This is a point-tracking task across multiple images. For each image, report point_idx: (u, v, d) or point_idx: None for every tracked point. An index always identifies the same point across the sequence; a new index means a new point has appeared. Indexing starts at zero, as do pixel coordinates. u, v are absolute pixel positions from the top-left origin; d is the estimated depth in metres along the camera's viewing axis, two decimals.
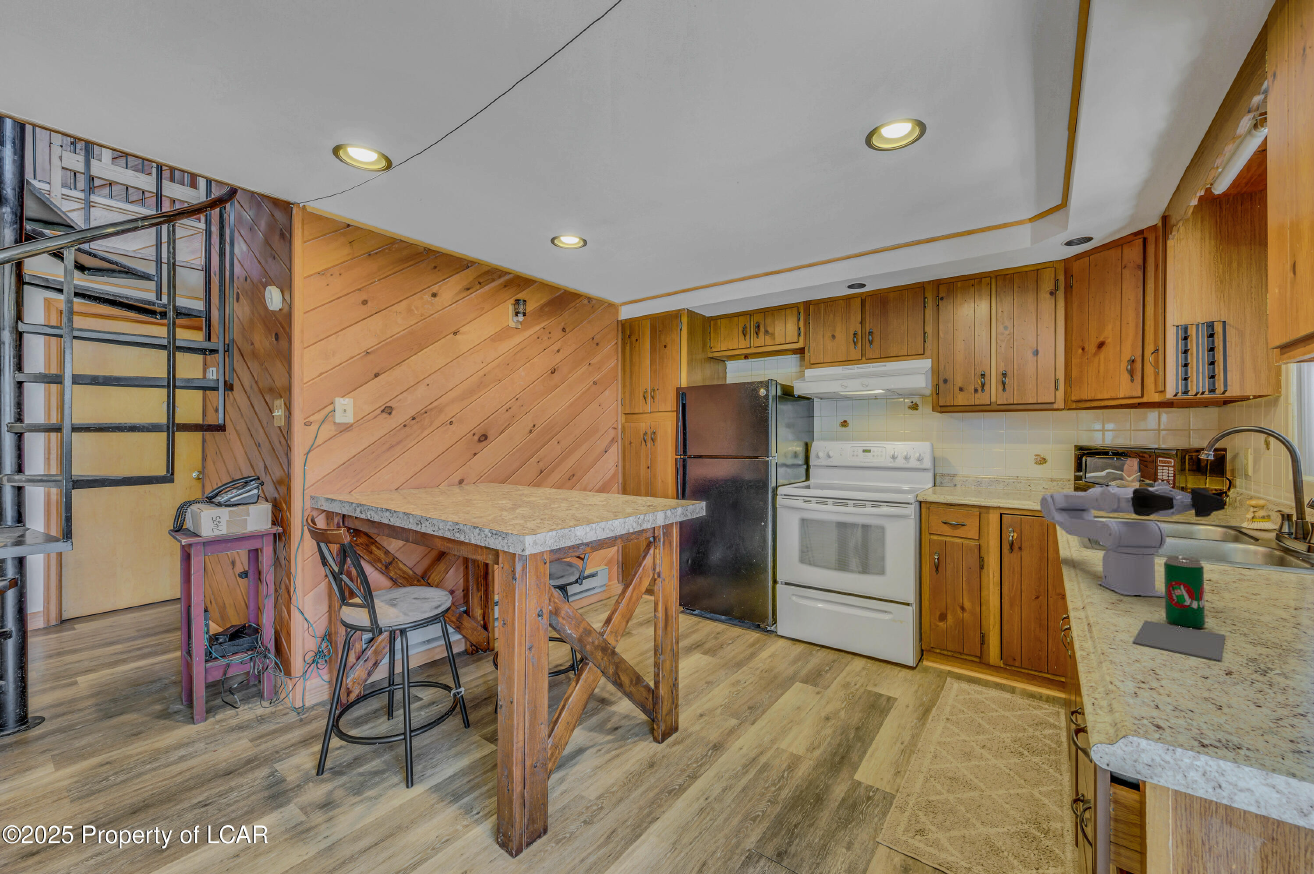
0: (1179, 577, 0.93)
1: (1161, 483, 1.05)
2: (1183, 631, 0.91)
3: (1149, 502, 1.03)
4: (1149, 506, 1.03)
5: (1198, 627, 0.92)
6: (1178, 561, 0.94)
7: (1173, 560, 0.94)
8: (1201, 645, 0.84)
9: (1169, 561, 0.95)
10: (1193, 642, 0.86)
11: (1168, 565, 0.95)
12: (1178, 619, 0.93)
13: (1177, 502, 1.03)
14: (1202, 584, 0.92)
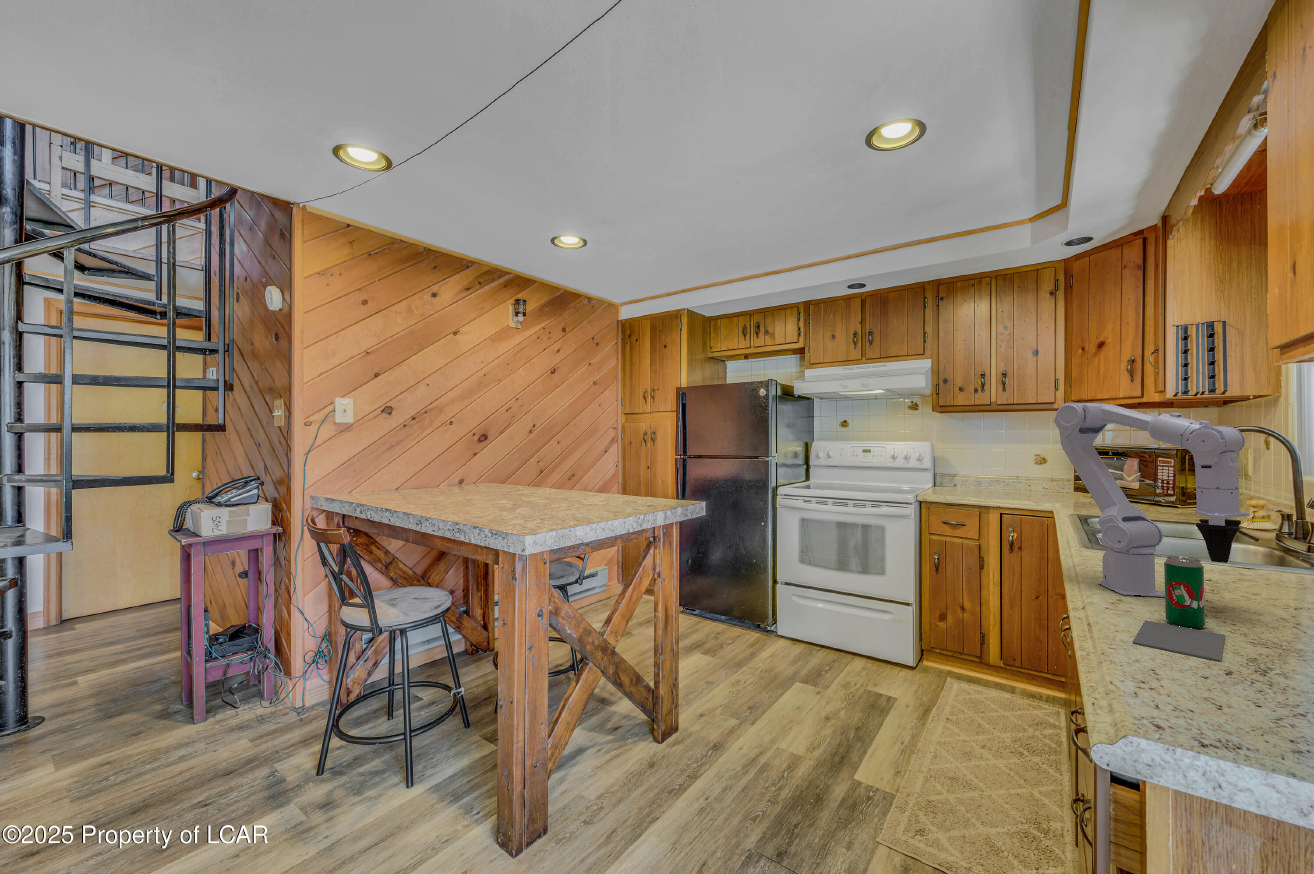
0: (1179, 577, 0.93)
1: None
2: (1183, 631, 0.91)
3: (1217, 534, 0.98)
4: (1211, 533, 0.98)
5: (1198, 627, 0.92)
6: (1178, 561, 0.94)
7: (1173, 560, 0.94)
8: (1201, 645, 0.84)
9: (1169, 561, 0.95)
10: (1193, 642, 0.86)
11: (1168, 565, 0.95)
12: (1178, 619, 0.93)
13: None
14: (1202, 584, 0.92)
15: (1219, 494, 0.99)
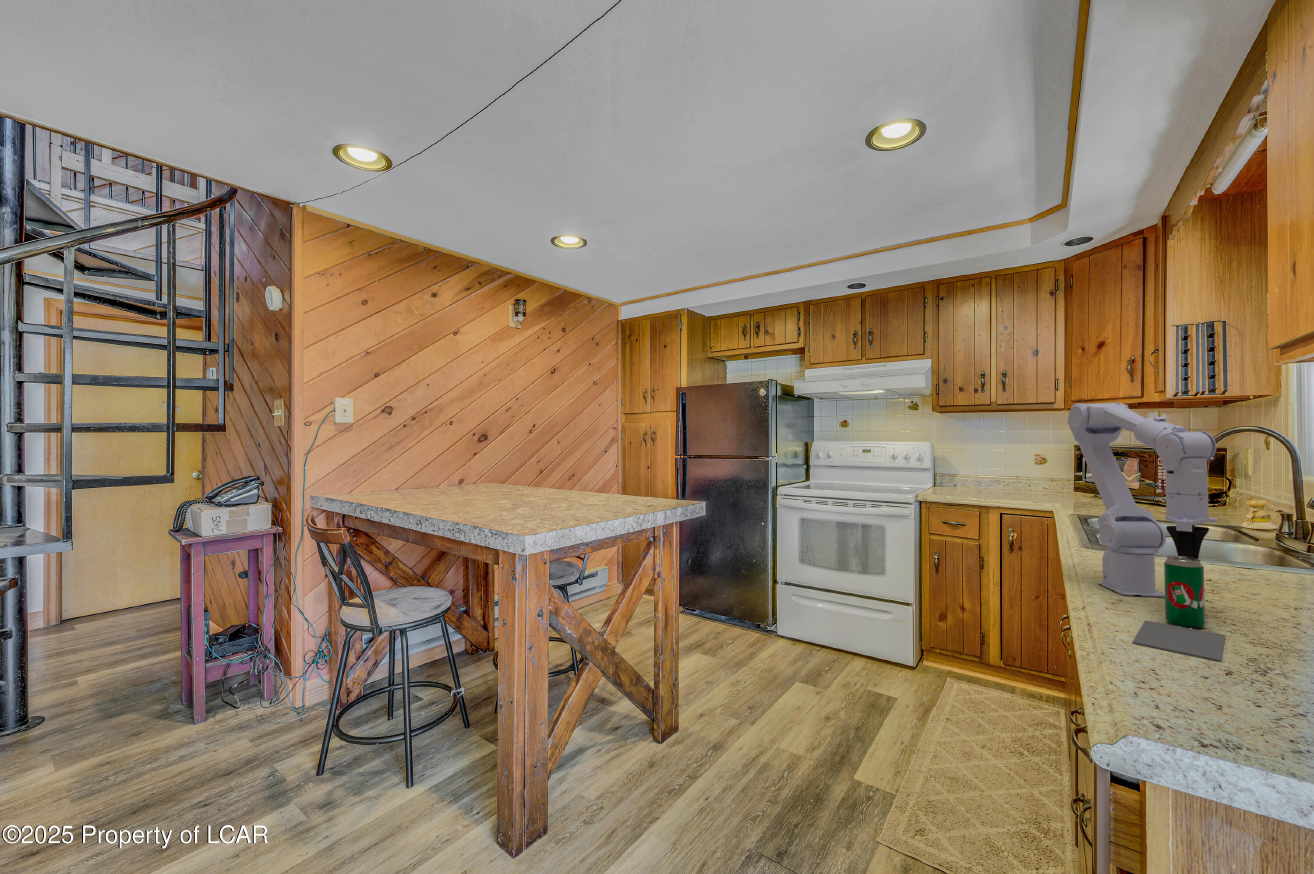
0: (1179, 577, 0.93)
1: None
2: (1183, 631, 0.91)
3: (1187, 537, 1.00)
4: (1181, 536, 1.01)
5: (1198, 627, 0.92)
6: (1178, 561, 0.94)
7: (1173, 560, 0.94)
8: (1201, 645, 0.84)
9: (1169, 561, 0.95)
10: (1193, 642, 0.86)
11: (1168, 565, 0.95)
12: (1178, 619, 0.93)
13: None
14: (1202, 584, 0.92)
15: (1188, 500, 0.99)
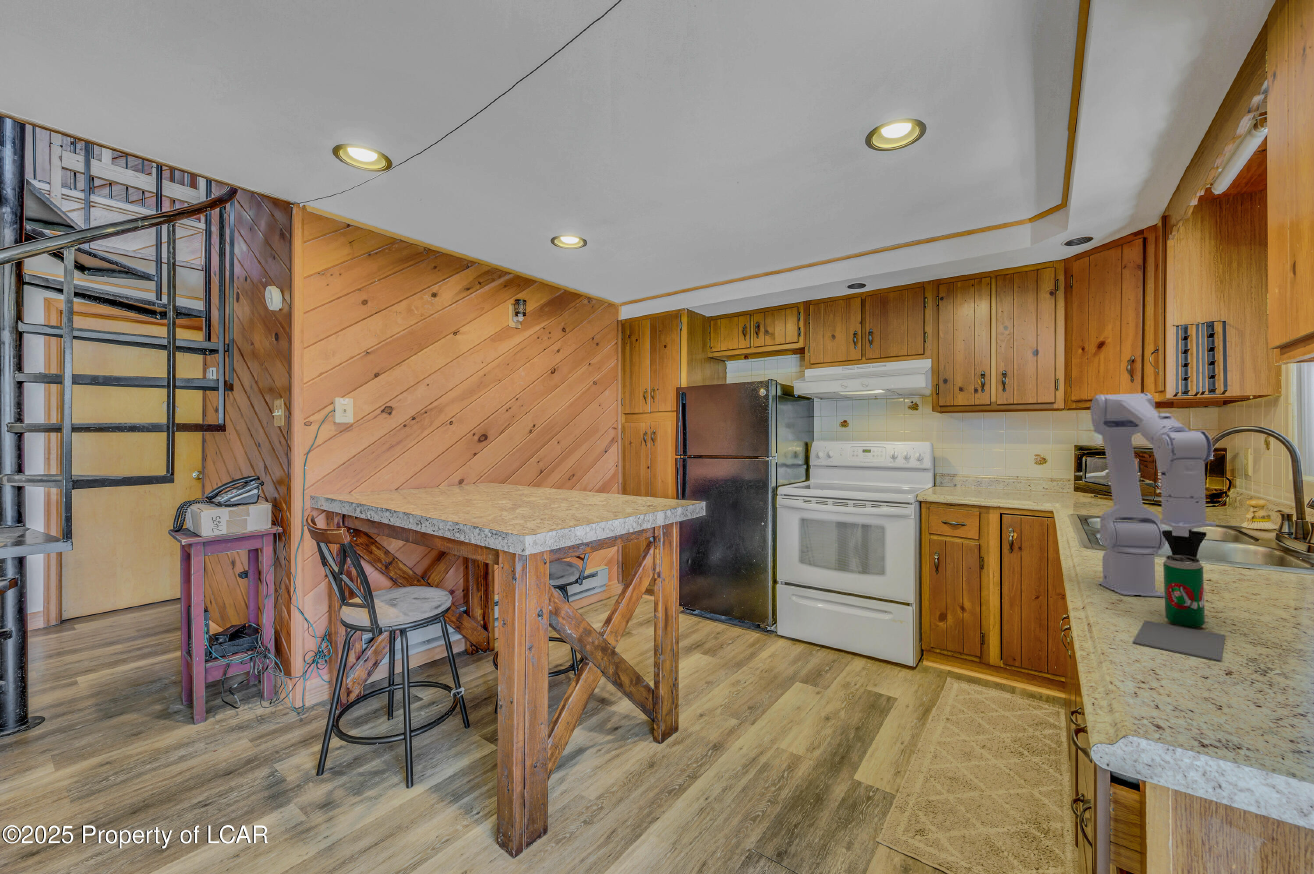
0: (1178, 579, 0.92)
1: None
2: (1183, 631, 0.91)
3: (1183, 542, 0.95)
4: (1177, 541, 0.96)
5: (1198, 626, 0.92)
6: (1177, 563, 0.92)
7: (1172, 562, 0.93)
8: (1201, 645, 0.84)
9: (1168, 562, 0.94)
10: (1193, 642, 0.86)
11: (1167, 567, 0.94)
12: (1178, 619, 0.93)
13: None
14: (1201, 585, 0.91)
15: (1184, 503, 0.94)
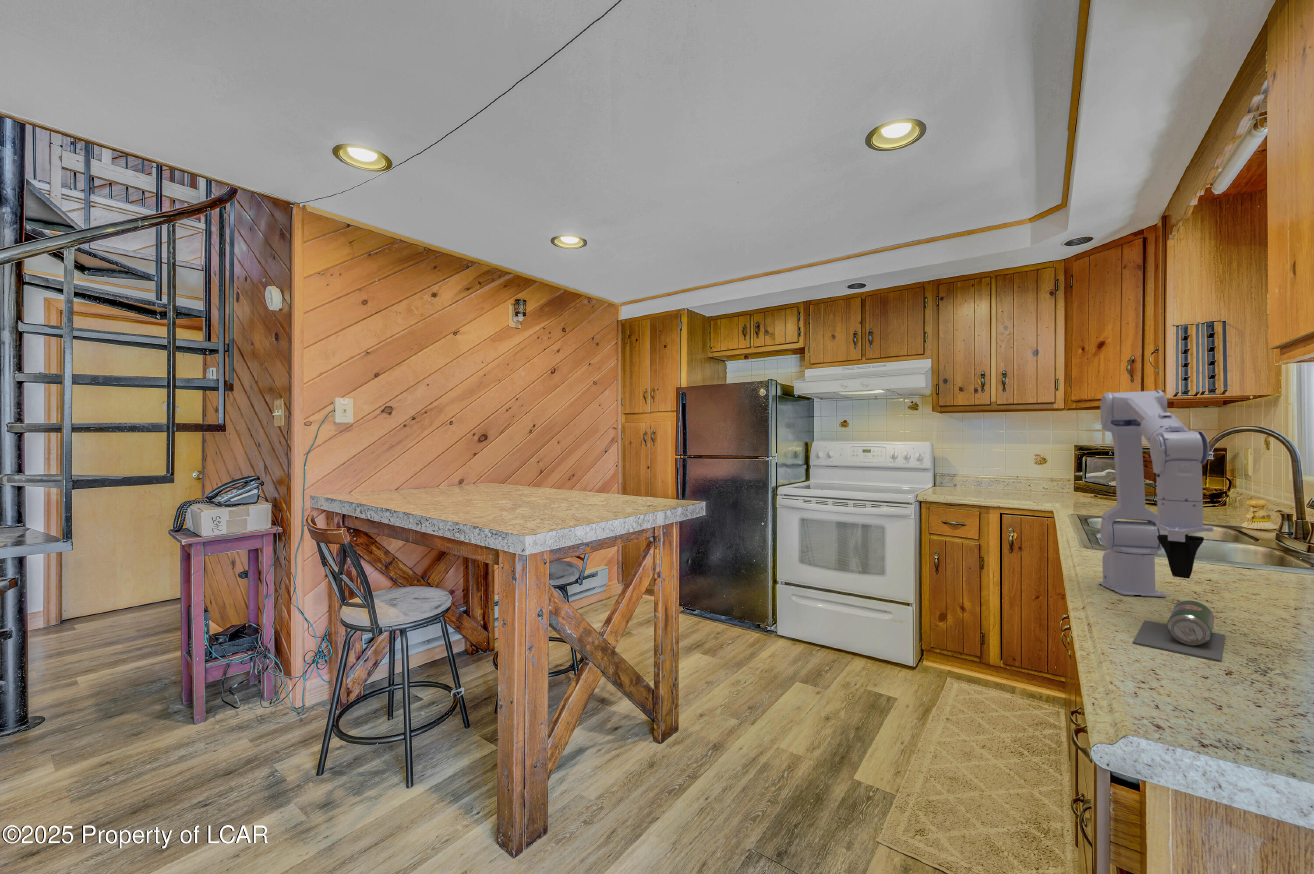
0: None
1: None
2: None
3: (1179, 547, 0.91)
4: (1173, 546, 0.92)
5: None
6: (1179, 640, 0.85)
7: None
8: (1201, 645, 0.84)
9: (1171, 632, 0.86)
10: None
11: None
12: None
13: None
14: None
15: (1181, 506, 0.90)
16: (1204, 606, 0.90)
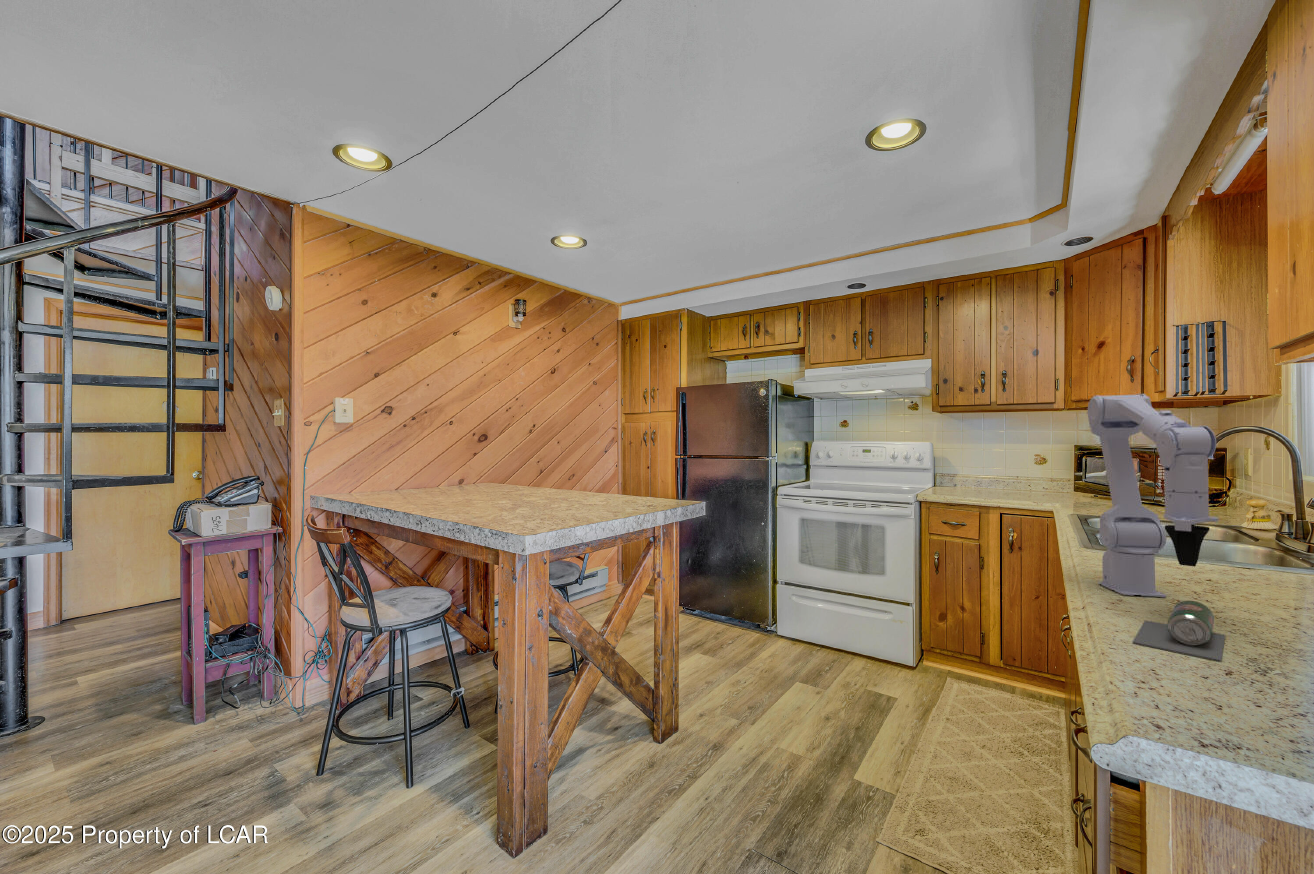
0: None
1: None
2: None
3: (1186, 537, 0.96)
4: (1180, 536, 0.97)
5: None
6: (1179, 640, 0.85)
7: None
8: (1201, 645, 0.84)
9: (1171, 632, 0.86)
10: None
11: None
12: None
13: None
14: None
15: (1187, 498, 0.94)
16: (1204, 606, 0.90)
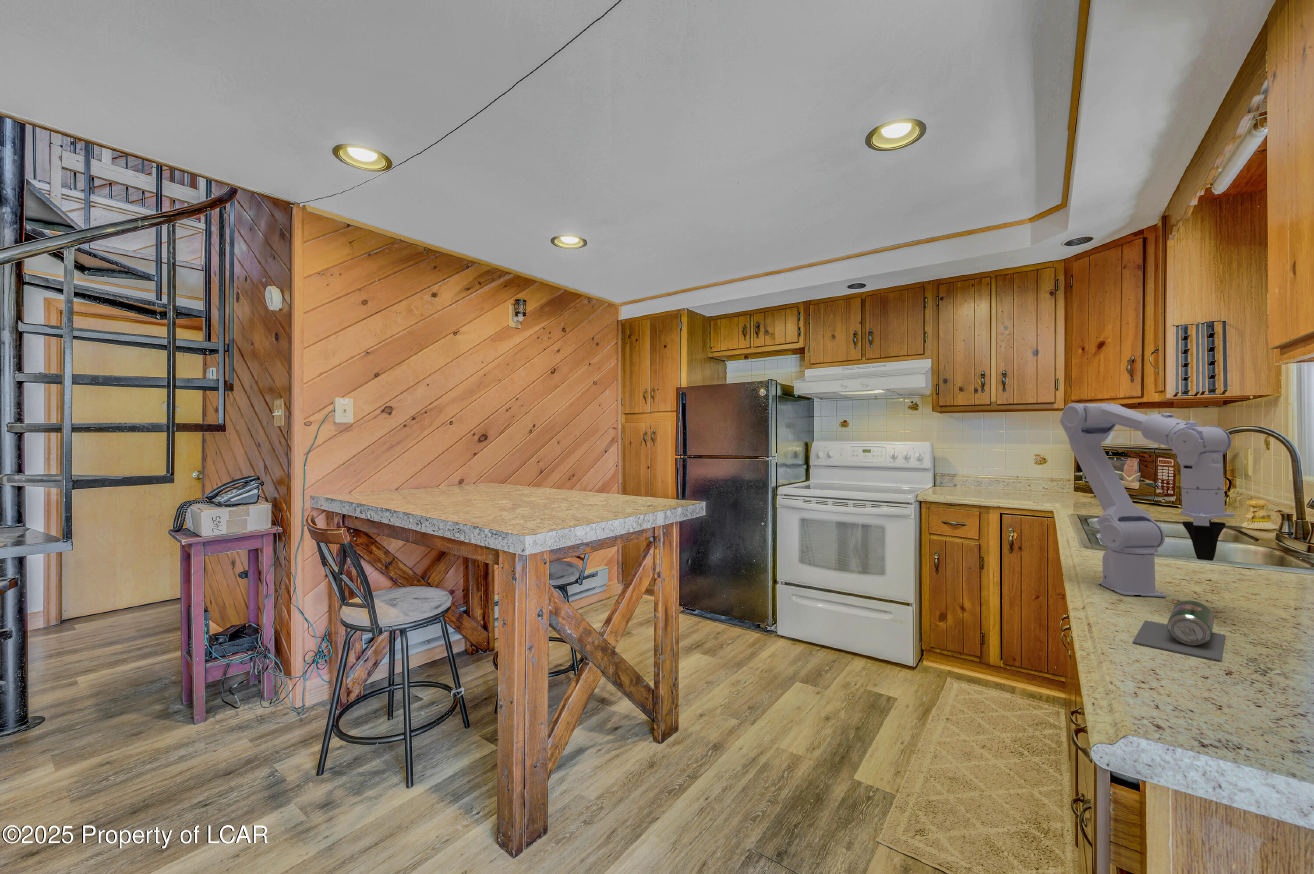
0: None
1: (1232, 516, 0.97)
2: None
3: (1203, 532, 1.00)
4: (1197, 531, 1.00)
5: None
6: (1179, 640, 0.85)
7: None
8: (1201, 645, 0.84)
9: (1171, 632, 0.86)
10: None
11: None
12: None
13: None
14: None
15: (1204, 494, 0.98)
16: (1204, 606, 0.90)
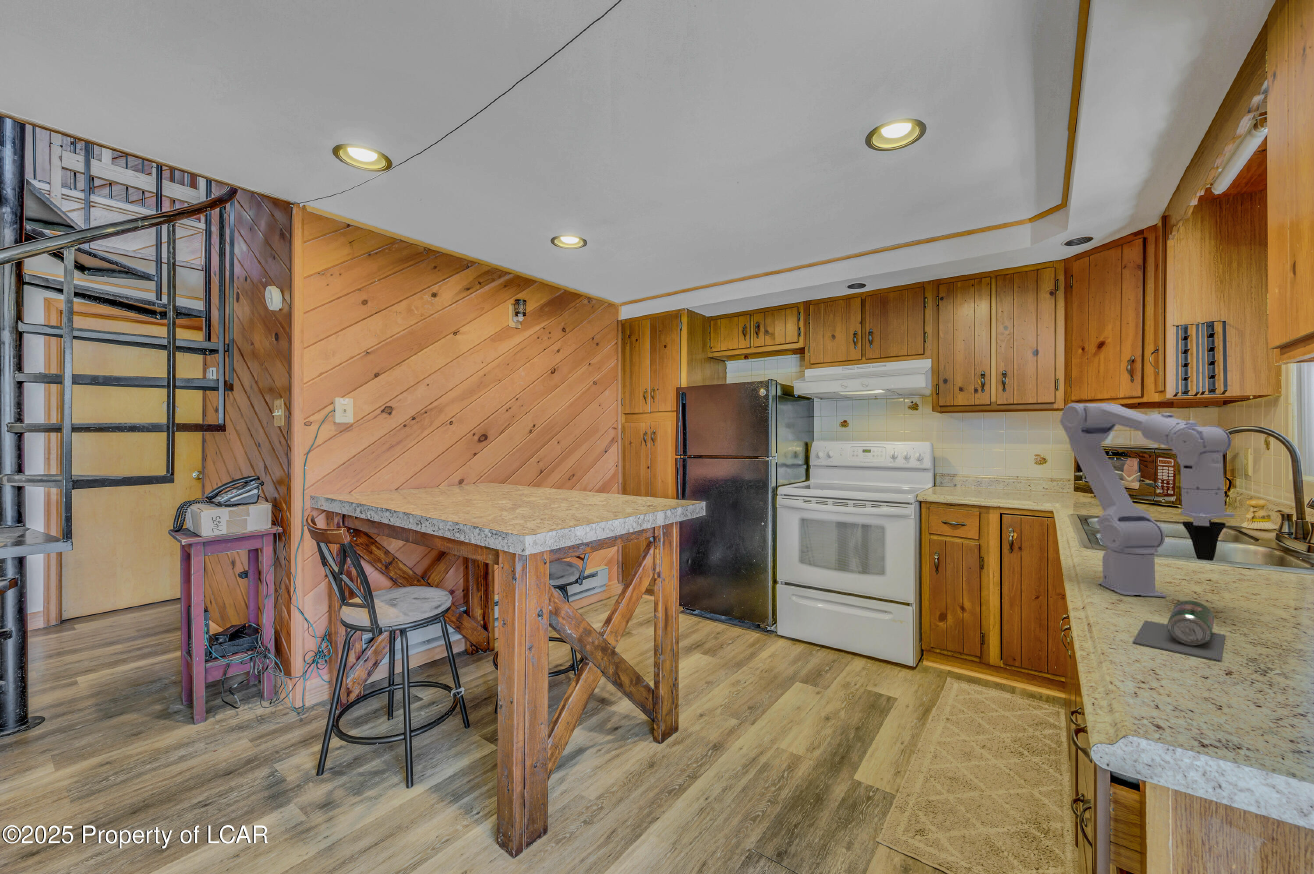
0: None
1: (1232, 516, 0.97)
2: None
3: (1203, 532, 1.00)
4: (1197, 531, 1.00)
5: None
6: (1179, 640, 0.85)
7: None
8: (1201, 645, 0.84)
9: (1171, 632, 0.86)
10: None
11: None
12: None
13: None
14: None
15: (1204, 494, 0.98)
16: (1204, 606, 0.90)
